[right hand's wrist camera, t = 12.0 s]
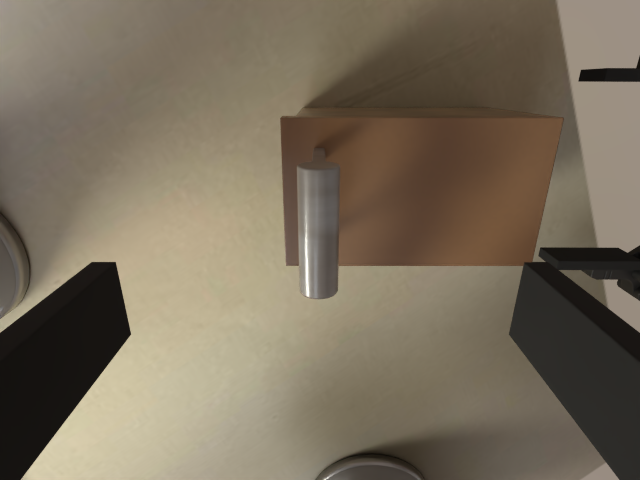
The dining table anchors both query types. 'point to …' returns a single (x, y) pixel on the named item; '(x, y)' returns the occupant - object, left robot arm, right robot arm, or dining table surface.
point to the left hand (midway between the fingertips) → (567, 174)
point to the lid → (412, 191)
